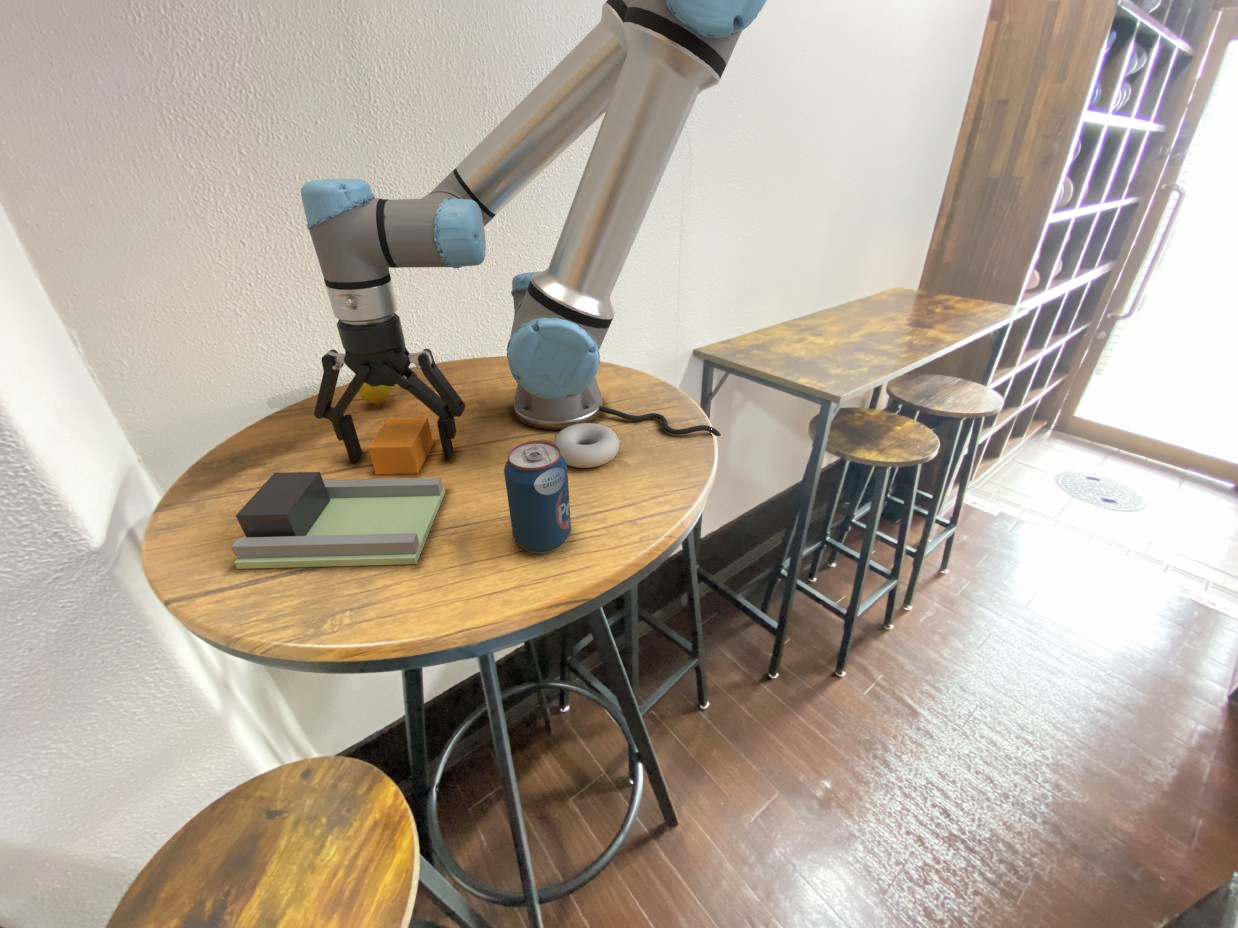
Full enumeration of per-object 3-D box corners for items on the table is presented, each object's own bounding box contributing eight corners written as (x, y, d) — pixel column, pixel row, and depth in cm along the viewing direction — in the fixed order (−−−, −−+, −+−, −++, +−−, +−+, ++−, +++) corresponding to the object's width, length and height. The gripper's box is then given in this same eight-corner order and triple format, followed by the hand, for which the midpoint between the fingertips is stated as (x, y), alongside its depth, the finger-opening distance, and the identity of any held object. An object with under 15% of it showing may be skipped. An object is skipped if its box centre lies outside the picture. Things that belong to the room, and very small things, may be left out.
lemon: (402, 402, 95) (391, 360, 91) (375, 415, 91) (363, 371, 87) (382, 395, 98) (371, 354, 93) (355, 407, 94) (342, 364, 89)
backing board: (445, 492, 72) (438, 457, 69) (416, 564, 61) (405, 526, 58) (295, 495, 72) (281, 461, 69) (237, 568, 60) (217, 531, 57)
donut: (540, 460, 79) (595, 479, 75) (537, 440, 77) (594, 458, 73) (579, 432, 86) (632, 448, 82) (577, 413, 84) (631, 428, 80)
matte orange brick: (433, 442, 83) (427, 417, 81) (418, 473, 76) (411, 446, 74) (394, 443, 83) (387, 418, 81) (375, 474, 76) (367, 447, 74)
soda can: (577, 550, 62) (572, 465, 56) (517, 562, 61) (505, 475, 54) (565, 515, 68) (559, 433, 61) (510, 525, 66) (498, 442, 60)
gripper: (251, 326, 64) (306, 472, 76) (460, 325, 65) (482, 469, 77) (282, 308, 71) (328, 445, 82) (472, 307, 72) (491, 443, 83)
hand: (403, 457), depth 80 cm, fingers open, 13 cm apart
